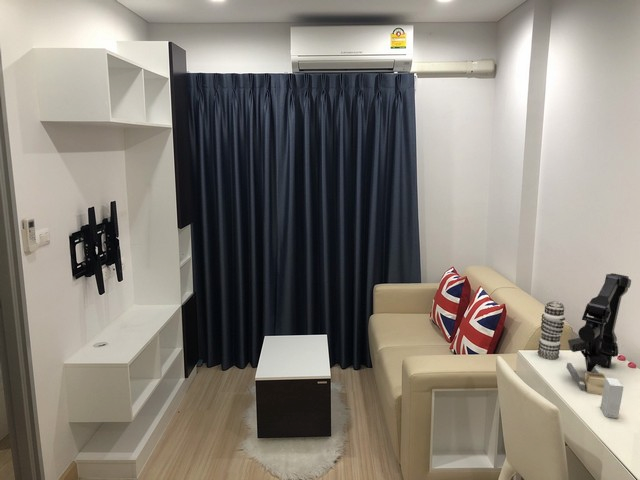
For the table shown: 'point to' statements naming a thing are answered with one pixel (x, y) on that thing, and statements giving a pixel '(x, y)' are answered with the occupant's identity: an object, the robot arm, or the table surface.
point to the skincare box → (611, 397)
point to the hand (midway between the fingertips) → (588, 371)
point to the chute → (576, 376)
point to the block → (594, 383)
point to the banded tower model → (551, 330)
